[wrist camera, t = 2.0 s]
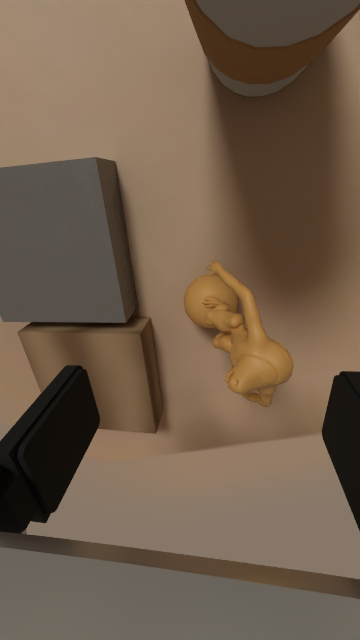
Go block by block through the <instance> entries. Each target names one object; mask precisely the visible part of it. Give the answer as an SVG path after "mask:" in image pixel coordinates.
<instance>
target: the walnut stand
mask: <svg viewBox="0 0 360 640" xmlns="http://www.w3.org/2000/svg"><path fill="white" fill-rule="evenodd" d="M18 335H19V337H20V340H21V342H22V345H23V348H24V350H25V353H26V355H27V358H28V360H29V363H30V365H31V368H32V371H33V373H34V376H35V378H36V381H37V383H38V386H39V388H40V391H41V393H42V392H43V391H44V390H45V389H46V387H47V386H48V385H49V384H50V383H51V382H52V380H53V379H54V378H55V377H56V376H57V375H58V373H59V372H60V371H61V370H62V369H63V368H64V367H65V366H66V365H80V366H82V367H83V369H86V371H87V373H88V377H89V380H90V384H91V387H92V391H93V394H94V398H95V401H96V405H97V408H98V412H99V415H100V424H99V427H98V429H110V430H121V431H133V432H144V433H156V432H157V429H158V425H159V422H160V418H161V415H162V412H163V407H162V400H161V393H160V386H159V378H158V371H157V364H156V356H155V349H154V342H153V335H152V327H151V320H150V317H130V318H129V319H128V321H127V322H126V323H101V322H31V323H30V324H28V325H27V326H26V327H24V328H23V329H21V330H20V331H18Z"/></svg>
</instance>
